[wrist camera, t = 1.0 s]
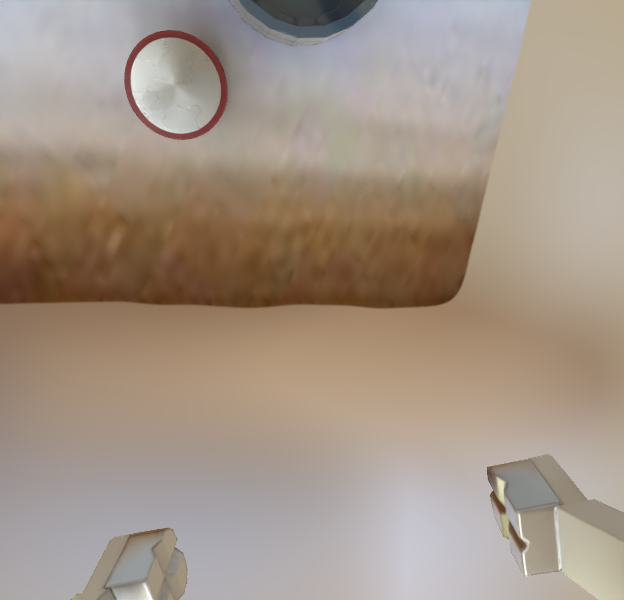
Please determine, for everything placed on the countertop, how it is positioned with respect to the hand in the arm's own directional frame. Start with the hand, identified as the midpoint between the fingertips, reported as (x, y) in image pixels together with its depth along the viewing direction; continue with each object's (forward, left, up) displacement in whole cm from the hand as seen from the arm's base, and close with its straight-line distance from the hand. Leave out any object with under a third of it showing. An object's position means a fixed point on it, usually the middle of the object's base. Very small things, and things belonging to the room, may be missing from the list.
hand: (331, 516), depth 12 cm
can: (-5, +11, -37) cm, 39 cm away
